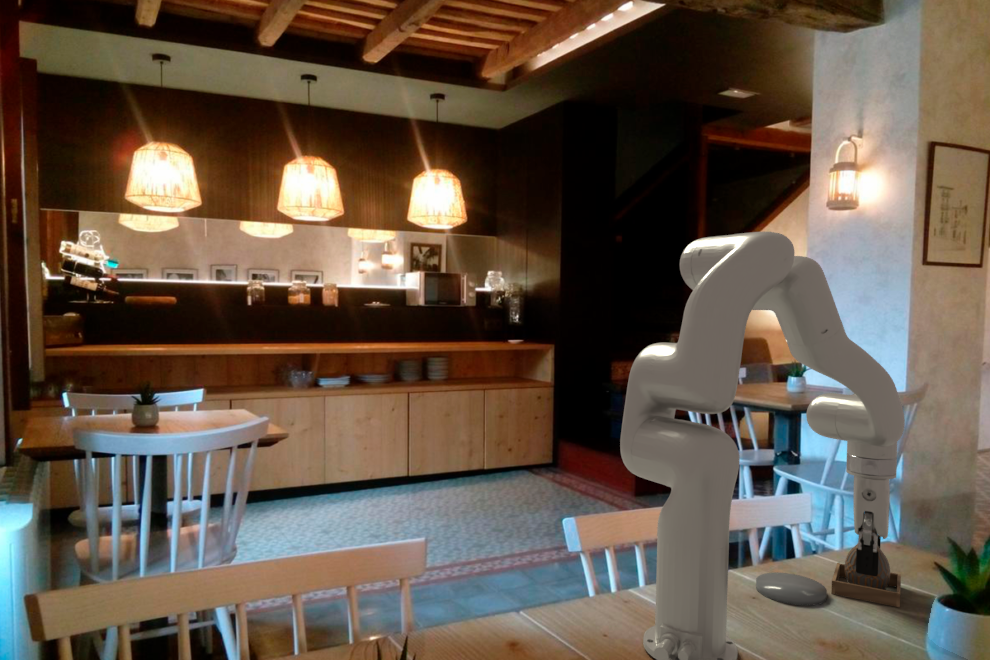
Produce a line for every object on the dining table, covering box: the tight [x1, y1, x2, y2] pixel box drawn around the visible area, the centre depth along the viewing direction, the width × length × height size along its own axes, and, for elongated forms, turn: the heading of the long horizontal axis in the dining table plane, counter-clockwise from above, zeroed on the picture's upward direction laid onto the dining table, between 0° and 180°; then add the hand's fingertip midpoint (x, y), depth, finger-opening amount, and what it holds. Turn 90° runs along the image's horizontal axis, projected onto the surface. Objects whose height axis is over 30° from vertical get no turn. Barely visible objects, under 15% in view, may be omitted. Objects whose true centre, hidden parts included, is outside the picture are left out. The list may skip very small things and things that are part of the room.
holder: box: [830, 562, 902, 608], centre depth 120 cm, size 10×10×2 cm
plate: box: [755, 572, 828, 607], centre depth 119 cm, size 11×11×1 cm
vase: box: [844, 539, 891, 590], centre depth 120 cm, size 7×7×9 cm
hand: (868, 564), depth 120 cm, fingers open, 9 cm apart
